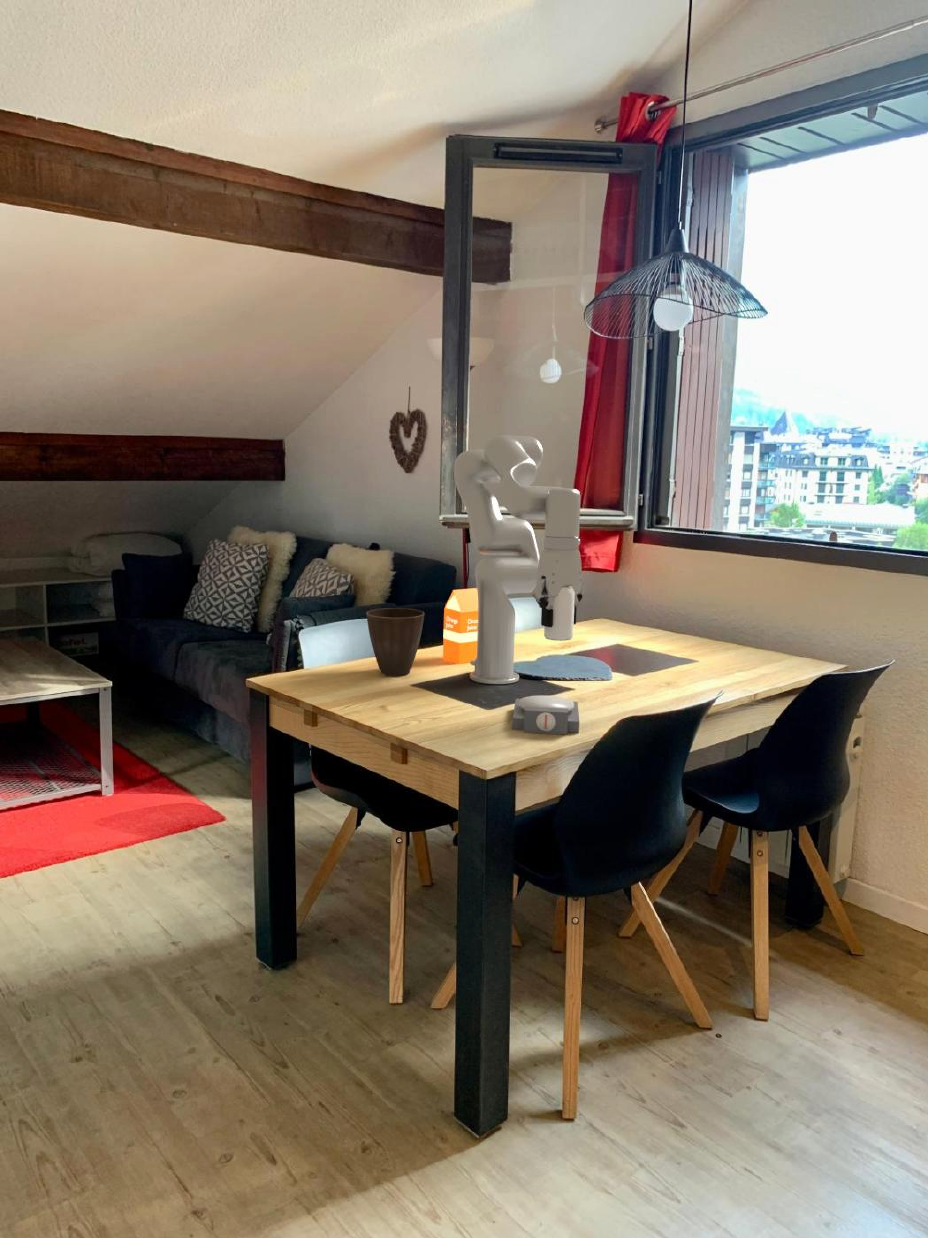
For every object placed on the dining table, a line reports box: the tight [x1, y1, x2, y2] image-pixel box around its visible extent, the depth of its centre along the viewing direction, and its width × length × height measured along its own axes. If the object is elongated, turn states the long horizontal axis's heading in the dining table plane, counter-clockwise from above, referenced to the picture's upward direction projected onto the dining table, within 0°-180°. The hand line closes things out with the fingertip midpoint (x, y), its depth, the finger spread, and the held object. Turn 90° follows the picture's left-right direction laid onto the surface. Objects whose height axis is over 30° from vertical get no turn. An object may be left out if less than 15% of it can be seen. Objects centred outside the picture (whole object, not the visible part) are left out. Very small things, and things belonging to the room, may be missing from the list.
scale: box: [511, 695, 580, 735], centre depth 206 cm, size 18×14×5 cm
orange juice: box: [442, 587, 478, 665], centre depth 263 cm, size 8×9×20 cm
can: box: [543, 586, 575, 642], centre depth 212 cm, size 6×6×12 cm
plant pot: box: [365, 607, 425, 677], centre depth 246 cm, size 15×15×16 cm
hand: (558, 624), depth 212 cm, fingers closed on can, 6 cm apart
